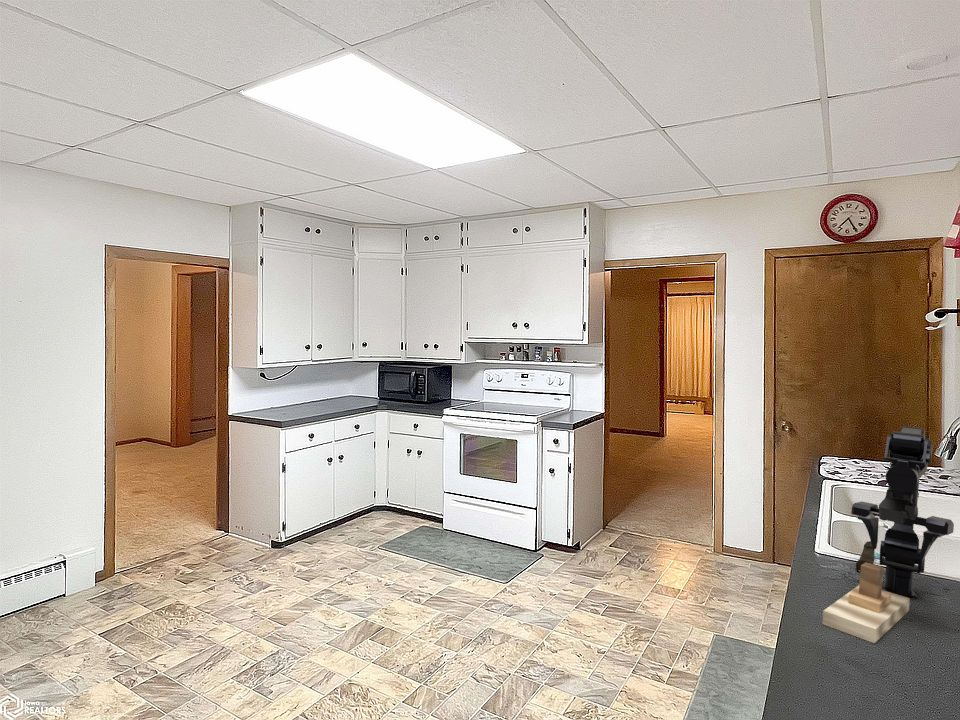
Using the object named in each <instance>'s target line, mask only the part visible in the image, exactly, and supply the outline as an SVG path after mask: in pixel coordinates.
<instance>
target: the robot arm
mask: <svg viewBox="0 0 960 720" xmlns="http://www.w3.org/2000/svg"><path fill="white" fill-rule="evenodd" d="M899 430H900V431H895V430H893V431H891V432H890V433H891V434H890V435H887V437H886V443H885V450H884V451H885V452H884V458H883V460H884V461H887V462H891V463H890V465H889V469H888V470H887V471H886V474H885V480H886V481H885V482H886V483H887V485H888V487H887V489H886V492H885V497H884V499H882V501H881V502H880V503H879V504H876V503H871V502H866V501H863V500H862V501H857V502H854V503H853V504H852V506H851V513H850V514H851V515H853V516H857V517H856V518H857V520H860V521H862V523H863V524H864V526H865V528H866V530H867V533H868V536H869V539H870V541H871V543H872V547H873V549H875V550H876V549H877V548H878V541H879V523H880V522H879V520H880V521H883V522H885V521H888V522H893V525H892V526H891V527H890V528H889V527H888V529H887V530H886V532H885V534H884V540H881V541H880V547H879V562H878V563H879V565H878V566H885V576H884V577H885V578H884V581H882V590H884V591H887V592H891V593H894V594H897V595H900V596H904V597H907V598H915V599H917V598H918V595H917V594H916V593H915V591H914V589H913V588H914V587H913V586H914V574H919V575H920V574H921V573H923V574H924V573H925V562H926V556H927V554H928V553H929V551H930V549H931V548H932V546H933V544H934V543H935V541H936V540H937V539H938V538H942V537H944V536H949V535H950V534H953V533H954V530H955V529H954V526H955V524H954V522H953V521H952V519H949V518H944V517H939V516H935V515H932V516H929V517H922V516H919V508H918V501H919V497H920V496H919V495H920V492H919V489H920V488H919V487H920V478H921V477H922V476H924V474H925V473H927V471H928V465H929V464H932V456H933V441H931V440H930V439H929V437H927V436H926V435H925V433H926V432H925V428H922V427H916V426H907V425H903V426H900V429H899ZM914 525H916V526H921V527H925V528H926V530H925V531H922V533H923V534H922V535H923V536H922V537H923V539H922V544H921V547H920V539H919V537H918V534H917V533H916V532H915V530H914Z"/></svg>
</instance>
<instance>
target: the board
mask: <svg viewBox="0 0 960 720" xmlns="http://www.w3.org/2000/svg"><path fill="white" fill-rule="evenodd" d="M858 587H859V584H858V585H857V586H855V587H854V588H853V589H851V590H850V591H849V592H847V593H846V594H844V595H843V596H842V597H841V598H839V599H837V600H836V601H835V602H833V603H832V604H830V605H829V606H828V607H826V608H825V609H824V610H822V621H821V622H822V623H821V625H824V626H827V627H828V628H832V629H835V630H837V631H840V632H842V633H845V634H848V635H850V636H854V637H857V638H858V639H862V640H864V641H867V642H869V643H872V644H876V643H877V642H878V641H879V640H881V638H882V637H883V636H884V635H885V634H887V632H889V630H891V628H893V626H895V625H896V623H898V622H899V621H900V620H901V619H902V618H903V617H905V615H906V614H907V613H908V612H909V611H910V600H911V597H908V596H902V595H897V594H894V593H891V592H887V591H885V590H884V589H882V592H884V593H887V594H890V595H891V601H890V604H889V605H888V606H887V607H885V608H884V609H883V610H882V611H881V612H880V613H877V612H874V611H871V610H868V609H865V608H862V607H859V606H856V605H853V604H850V603H848V600H849V594H850V593H851V592H853V591H854V590H856V589H857V588H858Z"/></svg>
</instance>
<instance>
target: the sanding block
mask: <svg viewBox="0 0 960 720" xmlns="http://www.w3.org/2000/svg"><path fill="white" fill-rule="evenodd" d="M883 579H884V566H881V565H878V564H877V565H876V564H874V563H873V564H870V563H866V562H865V563H864V564H862V565H861V571H860V573H859V584H858V585H859V587H858V588H857V589H856V590H854V591H853V592H851V593H850V594H849V600H848V603H850V604H853V605H856V606H859V607H862V608H865V609H868V610H871V611H874V612H877V613H880V612H881V611H882V610H883V609H884V608H885V607H887V606H888V605H889V604H890V601H891V595H890V594H887V593H884V592H882V590H883V587H882V582H884V581H883Z"/></svg>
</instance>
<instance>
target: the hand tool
mask: <svg viewBox="0 0 960 720" xmlns="http://www.w3.org/2000/svg"><path fill="white" fill-rule="evenodd" d="M875 550H876V549H873V547H872V543H871V540H870V541H869V540H868V541H866V542H865V543H864V545H863V549H862V553H861V554H860V556H859V559H858V560H856V563H855V571H857V570H860V571H861V565H862V564H864V563H865V562H866V563H870V564H873V565H874V562H875Z"/></svg>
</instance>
